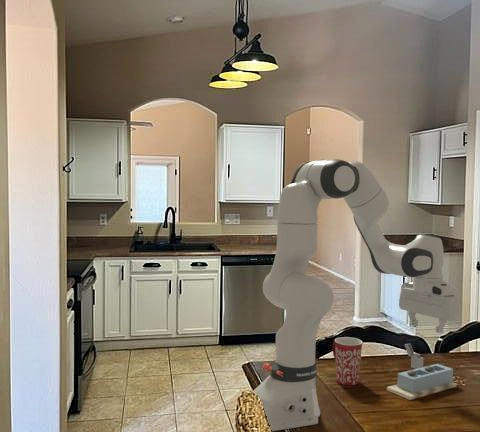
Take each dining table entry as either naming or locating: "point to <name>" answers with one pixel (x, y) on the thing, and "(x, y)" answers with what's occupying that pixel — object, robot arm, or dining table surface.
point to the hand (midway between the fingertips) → (426, 329)
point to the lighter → (414, 357)
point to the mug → (347, 360)
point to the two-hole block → (425, 378)
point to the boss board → (411, 396)
